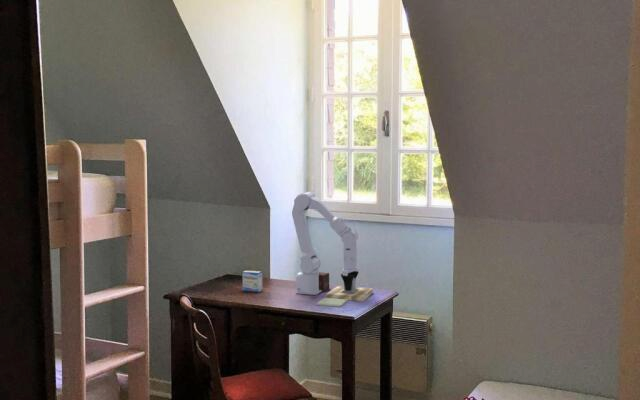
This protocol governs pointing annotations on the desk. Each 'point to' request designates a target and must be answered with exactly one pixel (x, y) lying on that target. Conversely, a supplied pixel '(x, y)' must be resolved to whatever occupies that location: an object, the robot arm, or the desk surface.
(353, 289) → the slate block
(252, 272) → the medicine box
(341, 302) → the tile
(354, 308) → the desk surface
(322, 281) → the box
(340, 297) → the pocket board
